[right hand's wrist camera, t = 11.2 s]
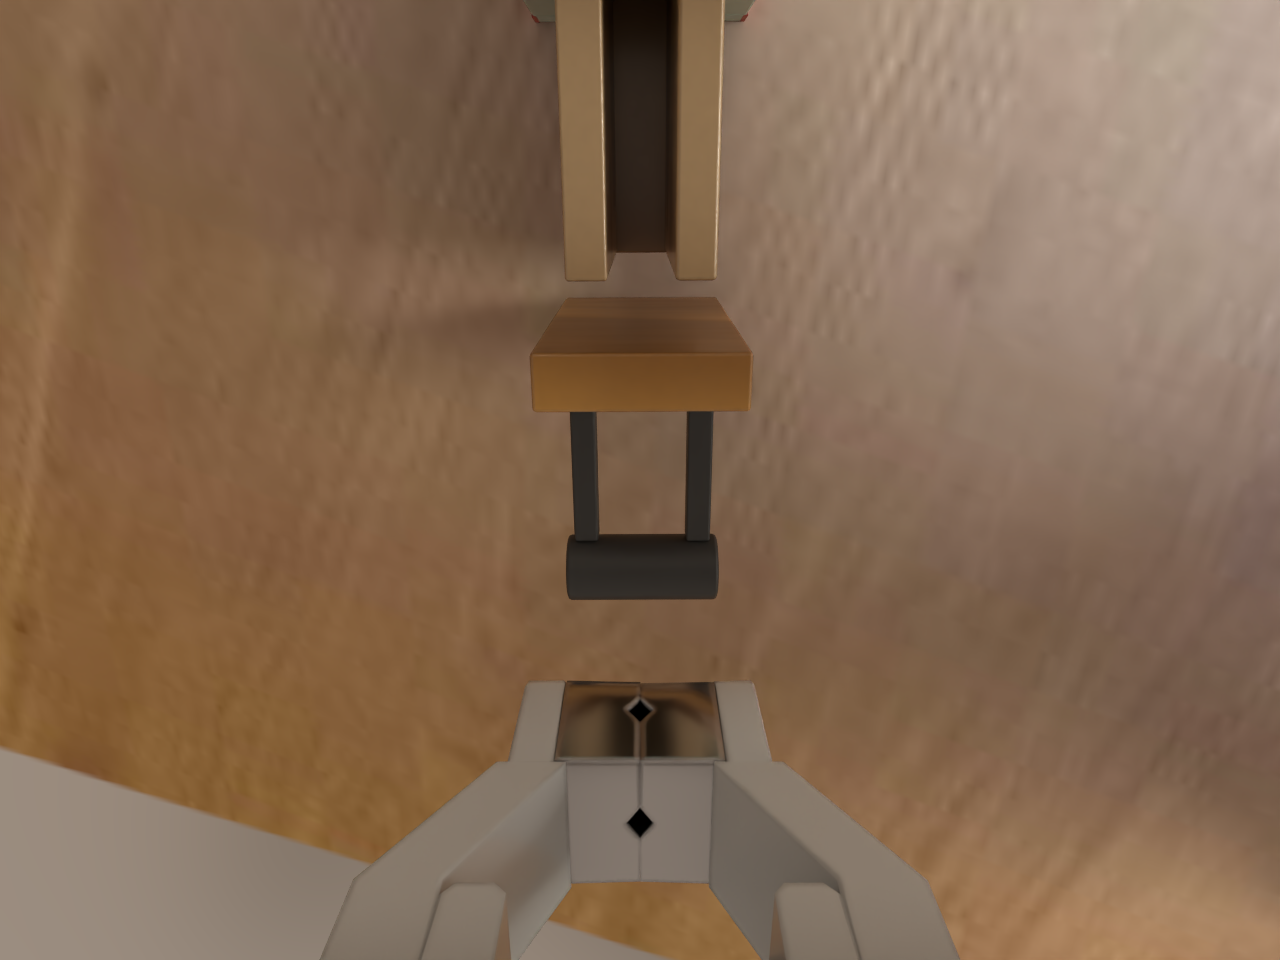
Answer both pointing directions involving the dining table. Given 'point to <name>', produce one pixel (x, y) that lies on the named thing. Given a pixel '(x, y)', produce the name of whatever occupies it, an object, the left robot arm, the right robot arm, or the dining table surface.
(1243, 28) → the dining table surface
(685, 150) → the drawer
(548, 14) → the red-trimmed green box
